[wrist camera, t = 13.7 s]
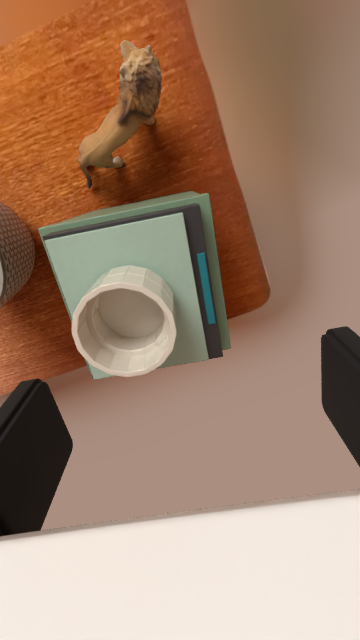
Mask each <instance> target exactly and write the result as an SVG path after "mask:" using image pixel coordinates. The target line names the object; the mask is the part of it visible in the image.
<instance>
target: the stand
mask: <svg viewBox="0 0 360 640" xmlns="http://www.w3.org/2000/svg"><path fill="white" fill-rule="evenodd" d="M195 203H198V204H199V205H200V212H201V218H202V224H203V231H204V237H205V244H206V250H207V257H208V263H209V269H210V276H211V282H212V289H213V295H214V302H215V308H216V314H217V321H218V327H219V334H220V340H221V347H222V350H225V349H230V348H231V345H230V338H229V331H228V324H227V317H226V310H225V303H224V296H223V289H222V281H221V274H220V267H219V260H218V253H217V246H216V239H215V232H214V225H213V218H212V211H211V204H210V197H209V194H207V193H204V194H198V193H196V192H193V191H188V192H183V193H178V194H173V195H168V196H163V197H158V198H154V199H149V200H144V201H139V202H134V203H129V204H124V205H120V206H115V207H110V208H105V209H100V210H95V211H92V212H89V213H86V214H83V215H80V216H77V217H74V218H71V219H68V220H65V221H62V222H59V223H56V224H53V225H48V226H44V227H41V228H39V229H38V231H39V234H40V237H41V239H42V242H43V245H44V248H45V250H46V253H47V256H48V259H49V261H50V264H51V267H52V270H53V272H54V275H55V278H56V281H57V284H58V286H59V289H60V292H61V295H62V297H63V300H64V303H65V306H66V308H67V311H68V314H69V317H70V319H71V322H72V318H71V316H70V313H69V310H68V307H67V304H66V302H65V299H64V296H63V293H62V291H61V288H60V285H59V282H58V279H57V277H56V274H55V271H54V268H53V266H52V263H51V260H50V257H49V254H48V252H47V249H46V246H45V243H44V240H43V238H42V236H44V235H47V234H49V233H52V232H57V231H62V230H67V229H72V228H77V227H82V226H86V225H91V224H96V223H101V222H106V221H111V220H116V219H121V218H126V217H131V216H136V215H141V214H145V213H150V212H155V211H160V210H165V209H170V208H175V207H180V206H185V205H190V204H195ZM85 361H86V364H87V367H88V369H89V372H90V373H91V371H90V368H89V366H88V363H87V360H86V359H85Z"/></svg>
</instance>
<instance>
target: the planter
mask: <svg viewBox="0 0 360 640" xmlns="http://www.w3.org/2000/svg"><path fill="white" fill-rule="evenodd" d="M34 265H35V246H34V241H33V239H32V236H31V233H30V231H29V230H28V228H27V226H26V225H25V223H24V222H23V220H22V219H21V218H20V217H19V216H18V215H17V214H16V213H15V212H14V211H13V210H11V209H10V208H9V207H8V206H6V205H4V204H3V203H1V202H0V308H2V307H3V306H4V305H5V304H6V303H7V302H8V301H9V300H10V299H12V298H13V297H14V296H15V295H16V294H17V293H18V292H19V291H20V290H21V288H22V287H23V286H24V285H25V283H26V282H27V281H28V279H29V277H30V276H31V274H32V271H33V268H34Z"/></svg>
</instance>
